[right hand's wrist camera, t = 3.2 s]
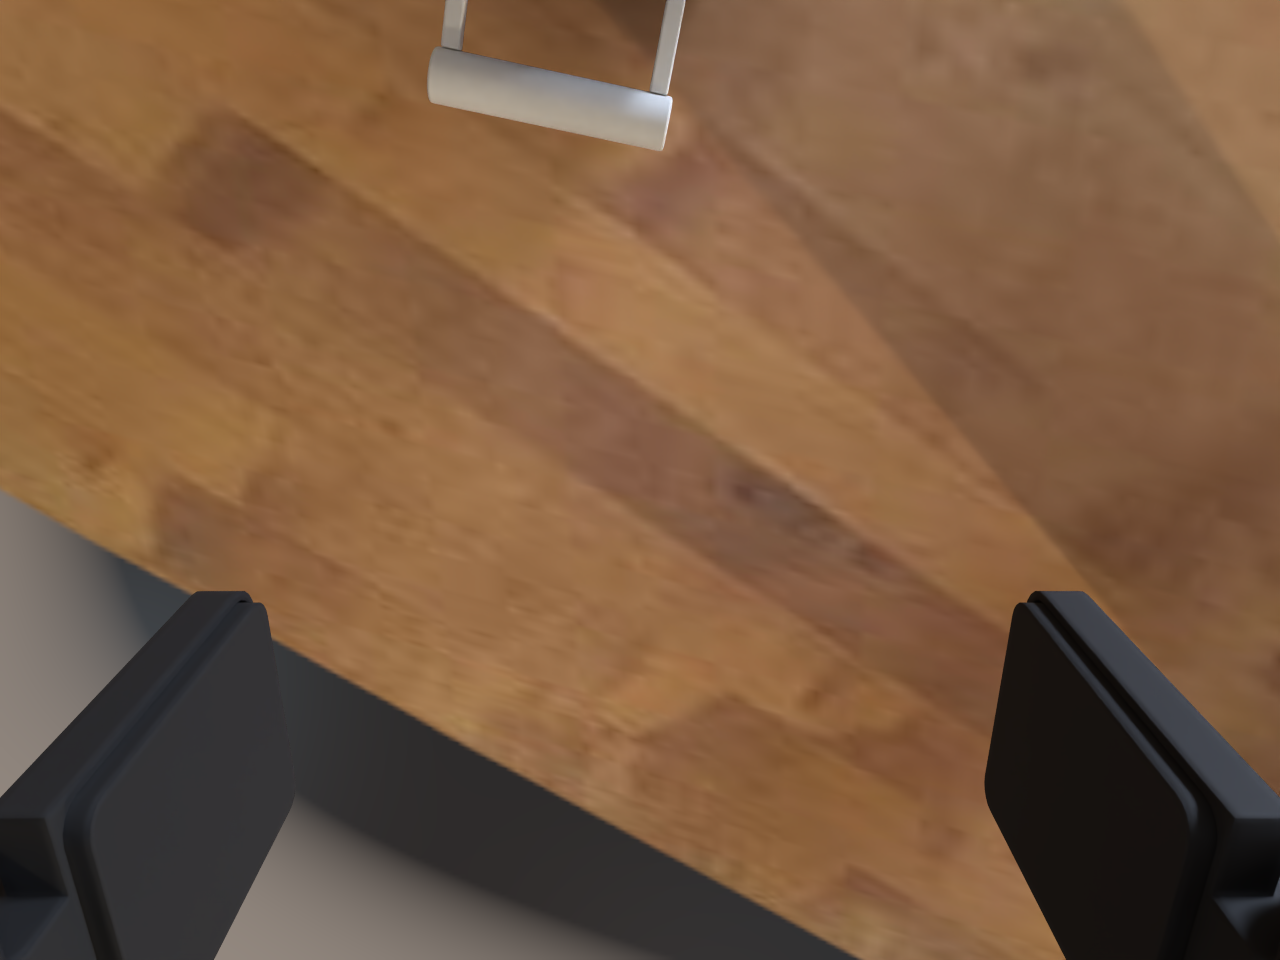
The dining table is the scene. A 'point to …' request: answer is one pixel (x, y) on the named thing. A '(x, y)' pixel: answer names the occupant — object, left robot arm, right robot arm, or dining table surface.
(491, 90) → the drawer
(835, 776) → the dining table surface
